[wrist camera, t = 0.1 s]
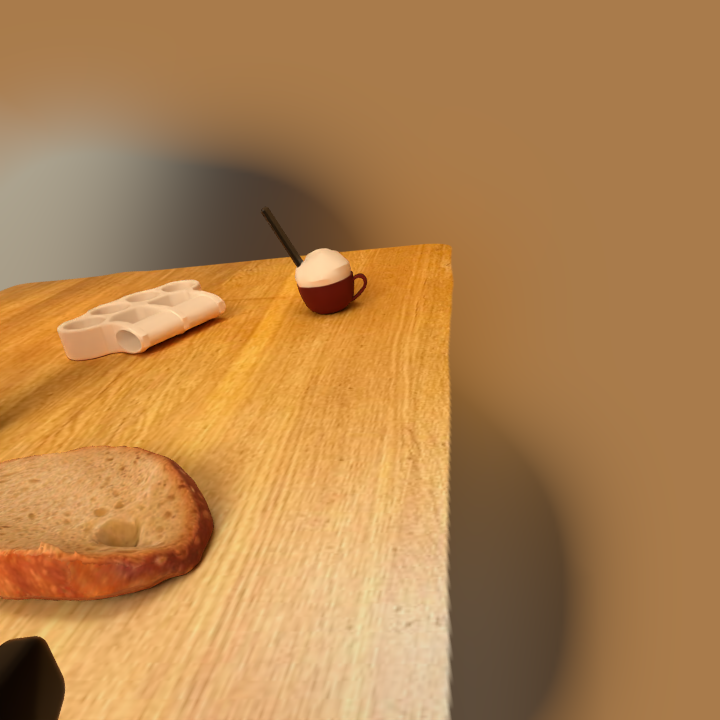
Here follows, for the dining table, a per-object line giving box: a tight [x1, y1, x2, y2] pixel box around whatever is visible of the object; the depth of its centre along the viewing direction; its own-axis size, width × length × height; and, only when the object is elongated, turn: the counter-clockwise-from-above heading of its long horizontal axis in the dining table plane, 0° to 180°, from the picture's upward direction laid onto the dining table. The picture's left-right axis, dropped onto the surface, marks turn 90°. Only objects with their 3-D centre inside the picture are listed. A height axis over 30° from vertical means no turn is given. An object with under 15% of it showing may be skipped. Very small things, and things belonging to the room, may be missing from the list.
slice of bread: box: [0, 446, 214, 600], centre depth 33 cm, size 18×18×4 cm
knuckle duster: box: [57, 280, 226, 360], centre depth 68 cm, size 3×18×15 cm
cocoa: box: [261, 207, 367, 314], centre depth 64 cm, size 10×6×12 cm, turn 59°
